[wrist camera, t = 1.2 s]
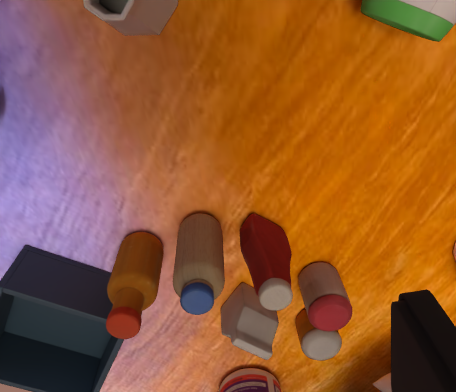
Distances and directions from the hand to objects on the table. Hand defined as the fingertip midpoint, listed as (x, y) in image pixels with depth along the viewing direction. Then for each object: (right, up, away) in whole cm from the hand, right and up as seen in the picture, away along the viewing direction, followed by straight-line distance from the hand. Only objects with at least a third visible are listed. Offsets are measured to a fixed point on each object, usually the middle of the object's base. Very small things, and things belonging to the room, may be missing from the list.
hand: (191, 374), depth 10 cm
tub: (-17, -9, +39) cm, 44 cm away
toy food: (+3, -4, +38) cm, 38 cm away
